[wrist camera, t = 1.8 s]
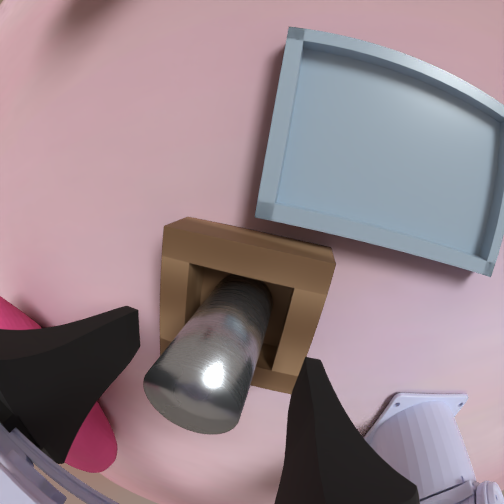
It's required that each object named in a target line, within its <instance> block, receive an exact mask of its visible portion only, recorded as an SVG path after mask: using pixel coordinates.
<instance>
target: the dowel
mask: <svg viewBox="0 0 504 504" xmlns="http://www.w3.org/2000/svg"><path fill="white" fill-rule="evenodd" d="M272 308H273V298H272V294H271V292H270V290H269V288H268V287H267V286H266V284H265V283H264V282H263V281H261V280H257V279H253V278H249V277H245V276H240V275H236V274H231V275H229V276H227V277H225V278H224V279H222V280H221V281H220V282H219V284H218V285H217V286H216V287H215V288H214V290H213V291H212V292H211V293H210V295H209V296H208V297H207V298H206V300H205V301H204V302H203V303H202V305H201V306H200V307H199V308H198V310H197V311H196V312H195V313H194V315H193V316H192V317H191V318H190V320H189V321H188V322H187V323H186V325H185V326H184V327H183V328H182V330H181V331H180V332H179V333H178V335H177V336H176V337H175V338H174V340H173V341H172V342H171V343H170V345H169V346H168V347H167V348H166V350H165V351H164V352H163V353H162V355H161V356H160V357H159V358H158V360H157V361H156V362H155V363H154V365H153V366H152V367H151V368H150V370H149V371H148V372H147V374H146V375H145V377H144V382H143V383H144V391H145V393H146V396H147V398H148V399H149V401H150V403H151V404H152V405H153V406H154V408H155V409H156V410H157V411H158V412H159V413H160V414H161V415H163V416H164V417H165V418H167V419H168V420H169V421H171V422H173V423H174V424H176V425H178V426H180V427H182V428H184V429H187V430H190V431H193V432H197V433H202V434H221V433H225V432H228V431H230V430H232V429H233V428H234V427H235V426H236V425H237V424H238V422H239V419H240V416H241V413H242V410H243V407H244V403H245V400H246V397H247V394H248V391H249V387H250V384H251V381H252V377H253V374H254V371H255V368H256V364H257V361H258V357H259V354H260V351H261V347H262V344H263V340H264V337H265V333H266V330H267V326H268V323H269V319H270V315H271V312H272Z"/></svg>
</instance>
